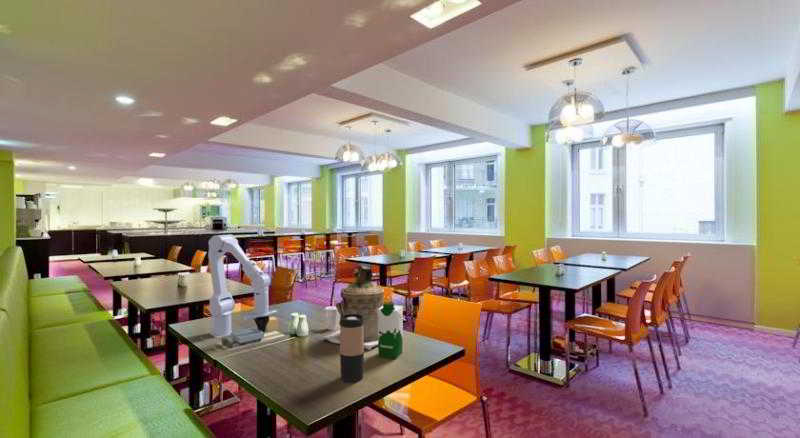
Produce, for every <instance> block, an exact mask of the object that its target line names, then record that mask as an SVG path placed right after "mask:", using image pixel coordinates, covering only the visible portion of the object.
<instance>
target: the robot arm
mask: <svg viewBox="0 0 800 438" xmlns="http://www.w3.org/2000/svg"><path fill="white" fill-rule="evenodd" d="M226 253H231V254H232V255H233V257H235V259H236V260H237V261H238V263H240V264H241V265H242V267H241V270H242V271H243V272H244V274H245V275H246V276H247V277H248V279H250V285H251V287H252V288H253V303H254V304H253V307H254V310H253V311H254V312H252V313H248V314H246V315H244V314H243V321H245V322H247V321H251V320H253V321H254V323H255V325H256V326H257V329H258V330H260V331H262V332H264V333H265V332H266V330H265V329H266V326H267V323H268V321H269V319H270V318H269V317H273V316H278V315H279V313H280V312H279V310H278V309H271V310H270V309H269V307H270V306H269V286H270V285H271V283H272V279H271V276H270V274H268V273H267V272H264V271H263V270H262V269H261V267H259V266H258V263H257V262H256V261H254V260H250V259H249V257H248V256H247V254H246V253H245V252H244V250H243V248H242V247H241V246H240V245H239V241H238V239H237V238H236V237H235V235H233V234H231V233H230V234H229V233H228V234H220V235H219V234H217V235H213V236H212V237H211V238H210V239H209V240H208V253H207V257H208V263H209V271H210V277H211V282H212V284H211V285H212V290H213V291H212V292H213V294H212V296H211V297H210V299H209V306H208V310H209V313H210V315H211V319H210V320H211V322H210V323H211V324H210V326H211V330H210V332H209V333H208V334H209V335H211V336H213V337H214V338H216V339H218V338H224V337H228V336H230V332H233V331H232V313H233V310H234V309H235V305H236V304H235V303H236V302H235V299H233V295H232V293H230V292H229V291H228V286H227V278H226V272H225V266H224V265H225V264H224V259H223V256H224V255H226Z"/></svg>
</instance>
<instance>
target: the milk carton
mask: <svg viewBox="0 0 800 438" xmlns="http://www.w3.org/2000/svg"><path fill="white" fill-rule="evenodd" d="M377 310H378V345H377V346H378V348H377V349H378V357H380V358H385V357H386V359H393V358H394V360H397V359H396V358H398V357H400V355H401V354H403V344H404V343H403V341H404V340H403V338H404V337H403V335H404V333H403V332H404V331H403V330H404V328H403V326H404V325H403V320H404V318H403V314H404V305H403V306H402V305H395V303H394V302H392V301H385V302H383V306H381V307H380V308H379V309H377Z"/></svg>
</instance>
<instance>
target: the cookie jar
mask: <svg viewBox="0 0 800 438" xmlns="http://www.w3.org/2000/svg"><path fill="white" fill-rule="evenodd" d="M352 276H353V277H355V279H354V280H353V282H351V283H349V284H348V286H347V287H342V288H341V290H340V297H341V300H340V302H336V304H335V306H336V308H337V310H338V315H340V317H341V316H343V315H347V314H359V315H362V316H363V334H364V349H366V350H369V351H371V350H372V348H375V347H377V346H378V310H377V309H379V308H380V307H381V306H383V303H384V295H385V289H384V288H382V287H377V286H376V285H374V284H373V282H372V281H373V270H372V268H370V267H369V266H365V265H364V266H363V265H361V264H359V265H357V266H356V269H353V274H352ZM340 317H339V318H340ZM338 324H339V326H340V321H339V322H338ZM322 338H323V339H324V340H327V341H329V342H330V343H332V344H337V345H338V344H339V345H340V329H339V330H337V331H335V332H333V333H331V334H328V335H324V336H322Z"/></svg>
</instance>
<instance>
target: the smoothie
mask: <svg viewBox="0 0 800 438" xmlns="http://www.w3.org/2000/svg"><path fill="white" fill-rule="evenodd" d="M324 311H325V315H326V323H327V330H330V331H335V330H337V325H338V316H339V312H338V310H337V308H336V305H335V298H332V305H331V306H326V307H325V309H324Z"/></svg>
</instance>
